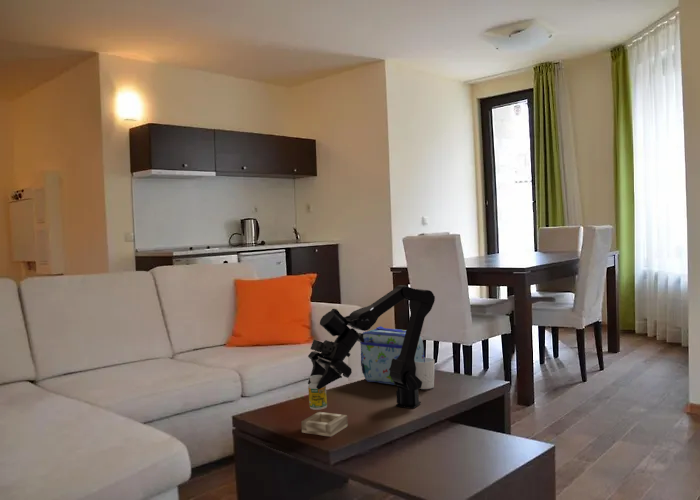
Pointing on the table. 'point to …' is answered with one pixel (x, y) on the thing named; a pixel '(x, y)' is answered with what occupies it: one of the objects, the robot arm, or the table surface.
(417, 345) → the robot arm
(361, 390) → the table surface
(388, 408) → the table surface
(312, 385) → the supplement bottle
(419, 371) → the white cup
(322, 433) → the holder
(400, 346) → the lunch box
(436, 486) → the table surface
